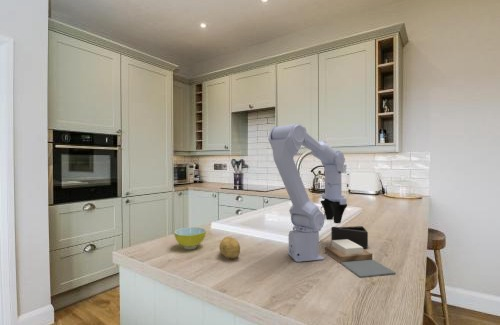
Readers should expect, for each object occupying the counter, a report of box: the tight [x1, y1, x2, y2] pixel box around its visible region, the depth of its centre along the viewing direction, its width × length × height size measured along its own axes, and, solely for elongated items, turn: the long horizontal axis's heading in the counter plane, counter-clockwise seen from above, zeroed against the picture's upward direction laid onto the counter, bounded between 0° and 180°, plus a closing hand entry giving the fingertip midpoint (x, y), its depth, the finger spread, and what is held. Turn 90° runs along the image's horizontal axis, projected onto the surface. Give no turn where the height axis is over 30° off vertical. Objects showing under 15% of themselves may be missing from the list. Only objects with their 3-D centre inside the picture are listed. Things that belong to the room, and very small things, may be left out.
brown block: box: [324, 245, 373, 264], centre depth 89 cm, size 11×10×2 cm
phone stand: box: [330, 225, 369, 250], centre depth 102 cm, size 9×6×12 cm
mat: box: [340, 259, 397, 279], centre depth 79 cm, size 11×10×1 cm
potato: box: [219, 236, 241, 259], centre depth 90 cm, size 7×11×6 cm, turn 10°
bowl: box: [173, 226, 207, 251], centre depth 99 cm, size 11×12×6 cm
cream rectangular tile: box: [331, 239, 363, 255], centre depth 90 cm, size 6×9×2 cm, turn 11°
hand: (333, 221), depth 98 cm, fingers open, 5 cm apart
